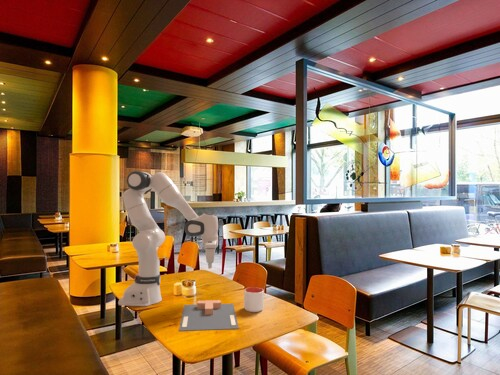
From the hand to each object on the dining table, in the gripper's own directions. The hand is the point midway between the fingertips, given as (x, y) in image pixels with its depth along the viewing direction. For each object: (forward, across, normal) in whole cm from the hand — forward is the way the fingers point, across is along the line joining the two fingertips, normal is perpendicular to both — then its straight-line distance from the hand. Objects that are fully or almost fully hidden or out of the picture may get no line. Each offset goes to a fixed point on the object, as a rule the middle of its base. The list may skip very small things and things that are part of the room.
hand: (209, 267), depth 175 cm
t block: (+19, +12, 0) cm, 22 cm away
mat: (+19, +19, 0) cm, 27 cm away
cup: (+20, +12, +23) cm, 32 cm away
